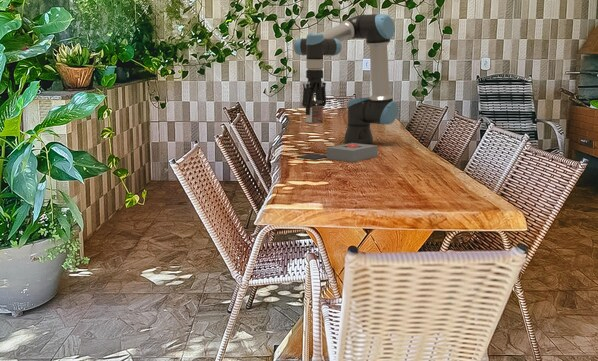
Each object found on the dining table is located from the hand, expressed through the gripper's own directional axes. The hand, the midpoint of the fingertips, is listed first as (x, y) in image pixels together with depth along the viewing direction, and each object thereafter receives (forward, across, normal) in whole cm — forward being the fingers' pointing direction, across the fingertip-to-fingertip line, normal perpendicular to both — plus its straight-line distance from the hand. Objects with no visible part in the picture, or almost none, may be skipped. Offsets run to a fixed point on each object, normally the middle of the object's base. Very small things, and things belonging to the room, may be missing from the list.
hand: (314, 121), depth 312 cm
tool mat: (+16, 0, 0) cm, 16 cm away
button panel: (+16, -10, +14) cm, 24 cm away
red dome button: (+15, -10, +14) cm, 23 cm away
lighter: (+1, 0, 0) cm, 1 cm away
